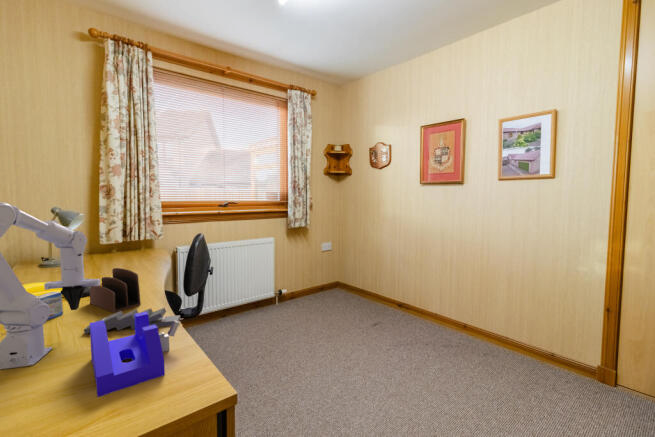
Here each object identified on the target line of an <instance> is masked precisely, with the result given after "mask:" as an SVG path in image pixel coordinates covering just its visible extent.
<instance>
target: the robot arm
mask: <svg viewBox="0 0 655 437" xmlns="http://www.w3.org/2000/svg"><path fill="white" fill-rule="evenodd" d="M59 223H60V222H59V221H57V220H52V219H51V220H45V221H43V220H40V219H39V218H36V217H35V216H33V215H31V214H29V213H26V212H25V211H22V210H21V209H20V208H19V207H18V206H15V205H11V204H9V203H7V202H4V201H3V202H2V201H1V202H0V239H2V237H3V236H4V235H5V233H7V231H8V230H9V229H10V228H11V227H12V226H14V227H18V228H21V229H25V230H28V231H31V232H34V233H35V236H36V238H38V239H40V240H43V241H46V242H48V243H51V244H53V245H54V247H55V248H56V249H59V259H60V260H59V261H60V277H61V280H56V281H47V282H46V283H44V290H46V291H47V290H48V291H49V290H51V289H61V290H60V292H61V294H62V297H64V299H65V300H66V302H67V304H68V306H69V308H70V311H76V310H78V309H79V306H80V302H81V299H82V297H81V296H82V294H83V292H84V290H85V288H86V286H102V281H101V279H102V278H85V269H84V253H85V250H86V248H85V247H86V245H87V243H88V238H87V237H86V235H85V234H84V233H83V231H81V230H80V231H79V230H72V228H71V227H70V226H63V225H61V224H59ZM3 255H4V254H2V252H1V251H0V325H1V326H3V330H6V334H5V336H4V338H3V339H2V340H1V341H0V370H5V369H12V368H20V367H21V368H22V367H28V366H33V365H35V364H36V363H38V362H39V361H40V360H42V358H43V357H44V356H46V355H47V354H48V353H49V352H51V351H52V349H53V347H52V346H49V347H45V334H44V325H45V324H46V322H47V321H48V320H47V319H48V317H49V315H50V307H49V305H48V304H47V303H44V302H42V301H41V300H40V298H39V297H37V296H38V295H36V294H33V293H30V292H29V291H27V290H26V288H25V287H24V285H23V284H22V282H21V281H20V279H19V278H18V276H17V275H16V274H15V271H14V270H13V269H12V266H10V265H9V263H8V261H7V259H6V258H5V257H4V256H3ZM46 320H47V321H46Z"/></svg>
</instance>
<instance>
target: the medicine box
mask: <svg viewBox="0 0 655 437" xmlns="http://www.w3.org/2000/svg"><path fill="white" fill-rule="evenodd" d="M36 296H37V297H39V298H40V300H41V301H42V302H44V303H47V304H48V305H49V307H50V315H49V317H48V319H47V320H46V321H45V322H47V321H49V320H52V319H54V318H57V317H60V316H63V315H64V311H63V309H64V308H63V307H64V306H63V295H62V294H61V291H51V292H47V293H44V294H41V295H36Z"/></svg>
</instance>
